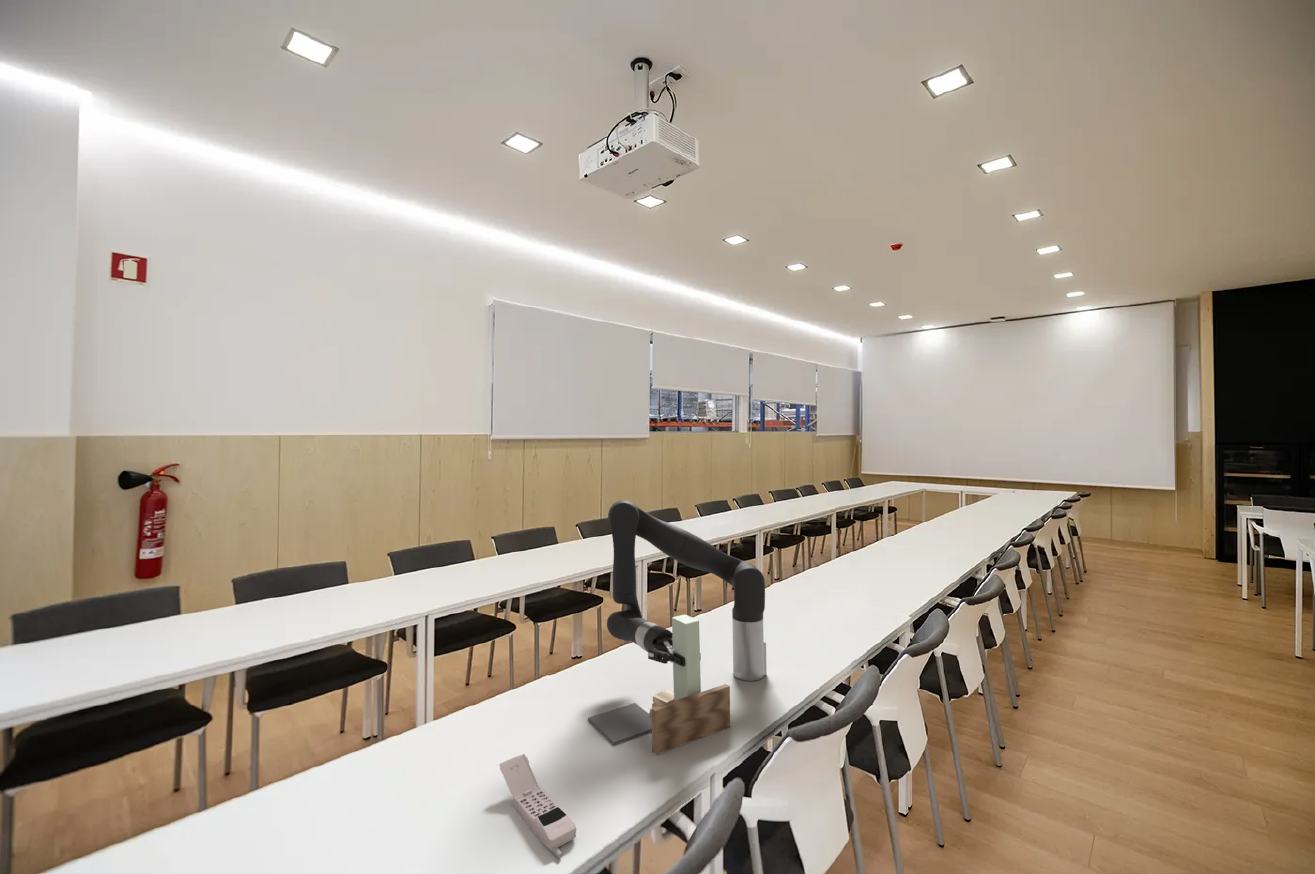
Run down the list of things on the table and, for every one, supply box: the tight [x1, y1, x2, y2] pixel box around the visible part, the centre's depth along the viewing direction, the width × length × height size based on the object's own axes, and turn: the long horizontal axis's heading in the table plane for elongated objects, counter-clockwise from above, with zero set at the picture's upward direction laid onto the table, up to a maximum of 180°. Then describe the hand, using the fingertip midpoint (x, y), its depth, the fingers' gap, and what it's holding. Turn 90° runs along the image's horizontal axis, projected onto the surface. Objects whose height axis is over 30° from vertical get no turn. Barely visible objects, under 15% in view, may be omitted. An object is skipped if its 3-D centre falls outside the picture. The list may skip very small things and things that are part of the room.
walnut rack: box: [651, 683, 731, 756], centre depth 135 cm, size 22×8×10 cm, turn 123°
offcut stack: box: [649, 689, 674, 715], centre depth 145 cm, size 7×7×4 cm
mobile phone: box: [498, 753, 577, 859], centre depth 106 cm, size 6×6×25 cm
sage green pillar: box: [671, 614, 702, 701], centre depth 138 cm, size 4×6×22 cm, turn 33°
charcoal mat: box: [587, 702, 652, 746], centre depth 140 cm, size 14×14×1 cm
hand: (691, 659), depth 136 cm, fingers closed on sage green pillar, 4 cm apart
